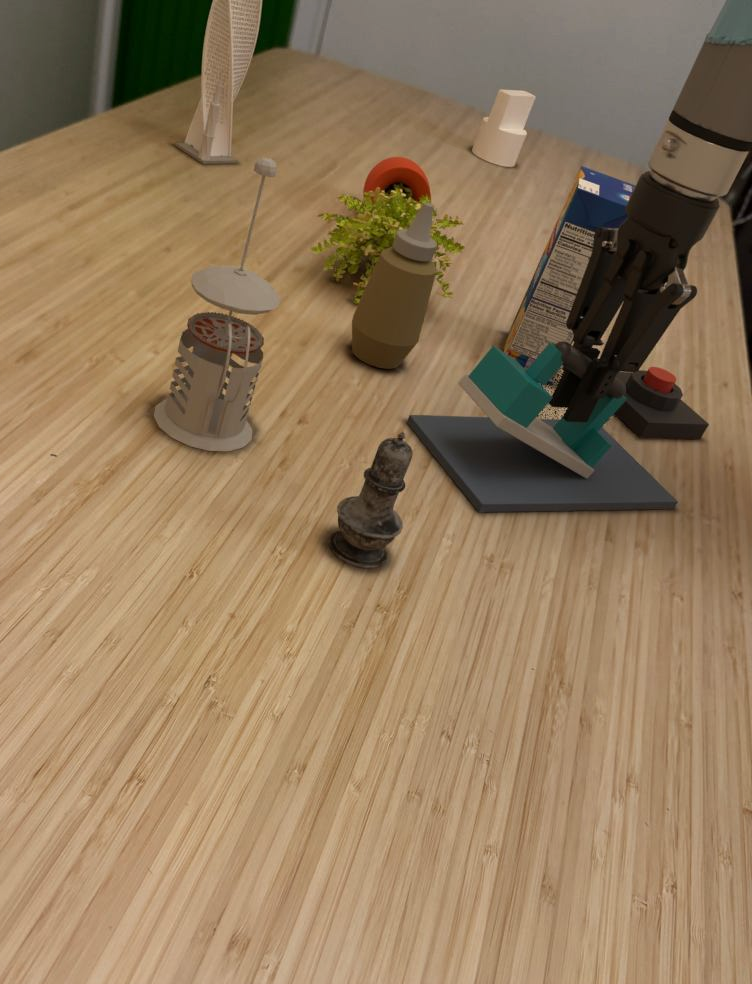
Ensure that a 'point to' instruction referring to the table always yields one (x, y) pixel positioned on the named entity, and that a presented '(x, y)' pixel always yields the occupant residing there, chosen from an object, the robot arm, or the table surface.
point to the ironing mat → (533, 470)
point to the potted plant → (385, 219)
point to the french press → (219, 355)
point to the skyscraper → (222, 78)
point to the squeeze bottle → (396, 296)
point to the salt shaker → (373, 508)
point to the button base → (657, 411)
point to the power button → (659, 379)
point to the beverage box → (565, 264)
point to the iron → (542, 404)
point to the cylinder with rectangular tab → (504, 128)
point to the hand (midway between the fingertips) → (567, 412)
